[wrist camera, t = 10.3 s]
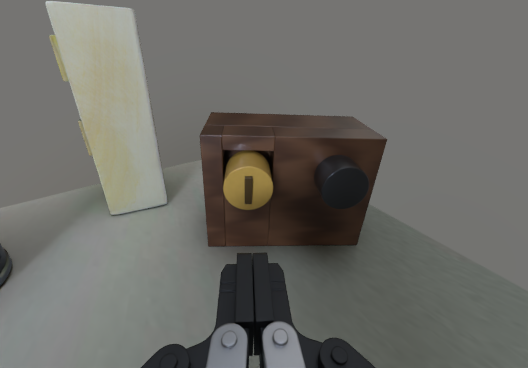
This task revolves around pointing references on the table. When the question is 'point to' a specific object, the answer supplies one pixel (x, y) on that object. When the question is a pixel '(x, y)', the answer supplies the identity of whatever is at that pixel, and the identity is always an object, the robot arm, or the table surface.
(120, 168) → the toy refrigerator
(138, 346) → the table surface
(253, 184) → the brass knob
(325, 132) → the control box
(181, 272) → the table surface
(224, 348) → the robot arm
